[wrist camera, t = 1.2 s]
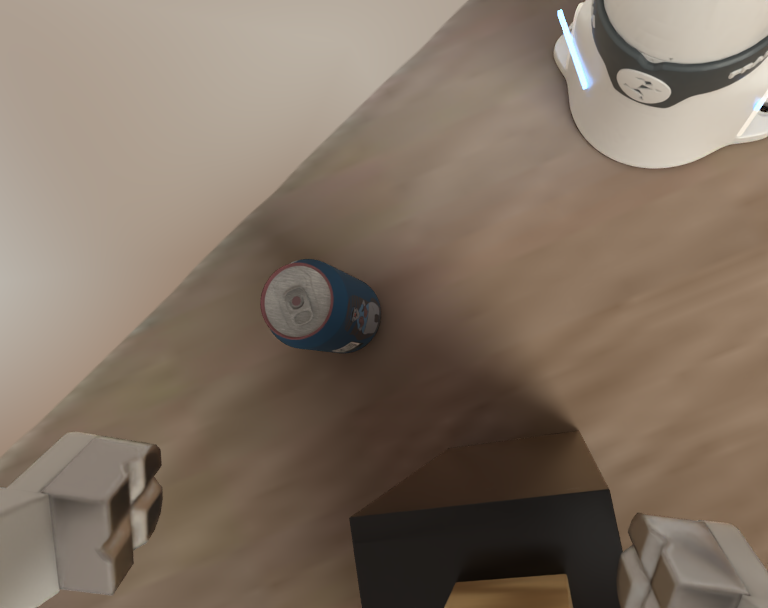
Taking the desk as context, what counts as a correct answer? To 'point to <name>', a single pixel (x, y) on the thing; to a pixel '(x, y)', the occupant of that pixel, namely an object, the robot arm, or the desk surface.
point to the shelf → (491, 524)
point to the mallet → (512, 593)
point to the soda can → (319, 308)
